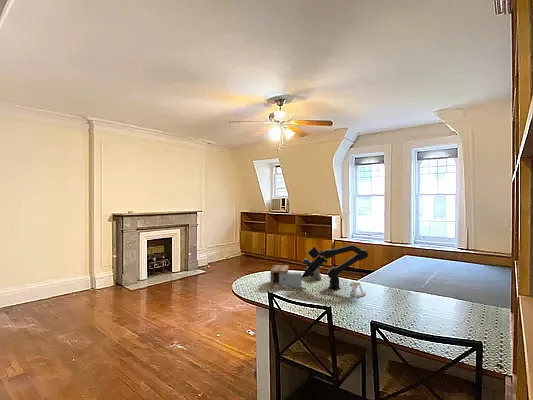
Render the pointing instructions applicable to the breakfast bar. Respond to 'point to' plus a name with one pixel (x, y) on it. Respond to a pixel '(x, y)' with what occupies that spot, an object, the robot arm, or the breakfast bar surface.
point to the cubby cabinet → (277, 275)
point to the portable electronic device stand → (355, 289)
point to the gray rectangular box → (290, 279)
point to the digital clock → (315, 275)
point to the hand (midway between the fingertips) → (301, 277)
